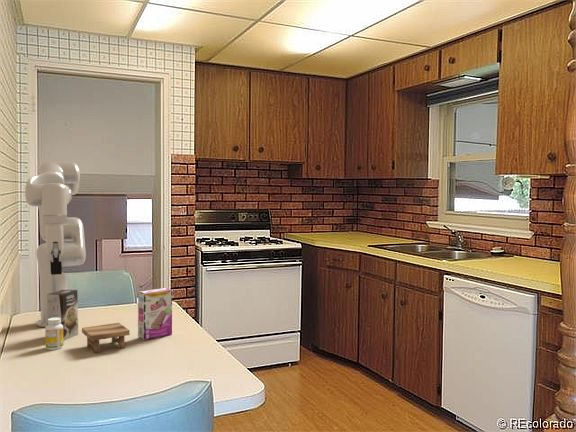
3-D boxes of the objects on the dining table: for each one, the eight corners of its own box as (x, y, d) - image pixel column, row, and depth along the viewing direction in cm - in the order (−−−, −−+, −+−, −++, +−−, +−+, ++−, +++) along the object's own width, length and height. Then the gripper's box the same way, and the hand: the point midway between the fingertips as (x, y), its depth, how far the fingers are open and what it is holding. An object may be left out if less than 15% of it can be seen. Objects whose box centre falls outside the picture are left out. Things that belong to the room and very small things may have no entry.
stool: (82, 345, 174) (82, 327, 173) (118, 339, 180) (118, 322, 180) (91, 355, 164) (91, 336, 163) (129, 348, 170) (129, 330, 170)
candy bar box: (144, 341, 179) (144, 293, 178) (137, 338, 182) (136, 291, 182) (173, 334, 187) (172, 289, 186) (165, 332, 190) (165, 287, 190)
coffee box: (63, 341, 179) (62, 294, 178) (46, 340, 181) (45, 293, 180) (79, 334, 188) (78, 289, 187) (63, 333, 189) (62, 288, 189)
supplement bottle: (50, 351, 168) (49, 321, 167) (42, 348, 171) (41, 319, 171) (66, 347, 172) (66, 318, 172) (58, 344, 175) (58, 316, 175)
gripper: (42, 221, 178) (43, 271, 178) (41, 221, 163) (43, 276, 163) (66, 220, 181) (67, 269, 182) (68, 220, 166) (69, 274, 166)
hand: (56, 272), depth 172 cm, fingers open, 9 cm apart
